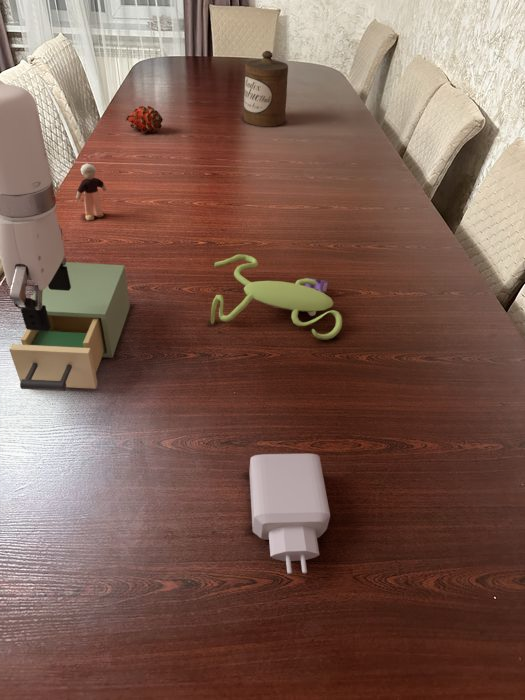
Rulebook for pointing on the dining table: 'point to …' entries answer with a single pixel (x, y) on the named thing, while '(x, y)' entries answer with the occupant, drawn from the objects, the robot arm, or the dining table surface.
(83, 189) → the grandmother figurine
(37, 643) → the dining table surface
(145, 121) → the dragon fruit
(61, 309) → the cabinet
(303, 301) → the figurine
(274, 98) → the wooden container
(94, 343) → the drawer
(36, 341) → the sponge
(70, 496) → the dining table surface
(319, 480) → the charger
